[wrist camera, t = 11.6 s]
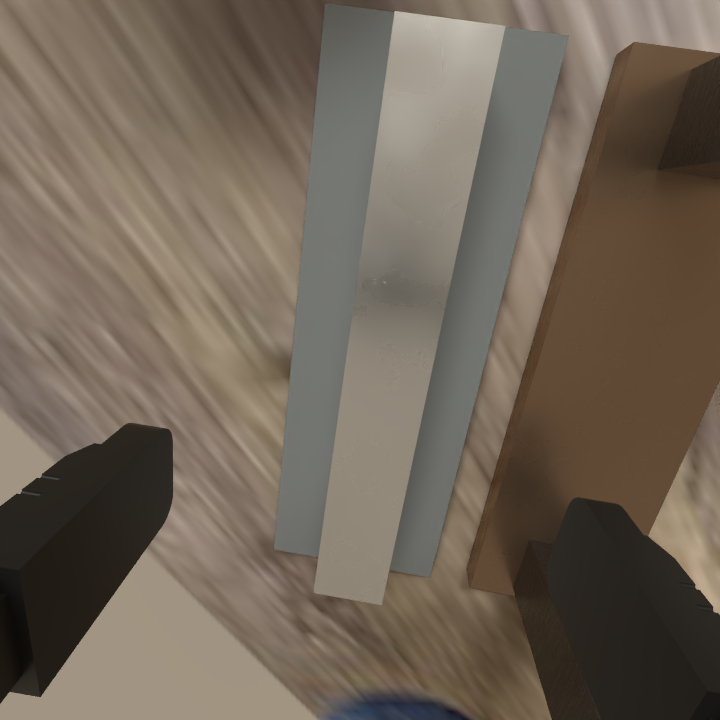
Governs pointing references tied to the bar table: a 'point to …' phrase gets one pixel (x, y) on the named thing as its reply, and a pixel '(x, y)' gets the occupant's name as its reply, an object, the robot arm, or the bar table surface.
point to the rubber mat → (342, 257)
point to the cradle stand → (614, 343)
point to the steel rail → (402, 286)
